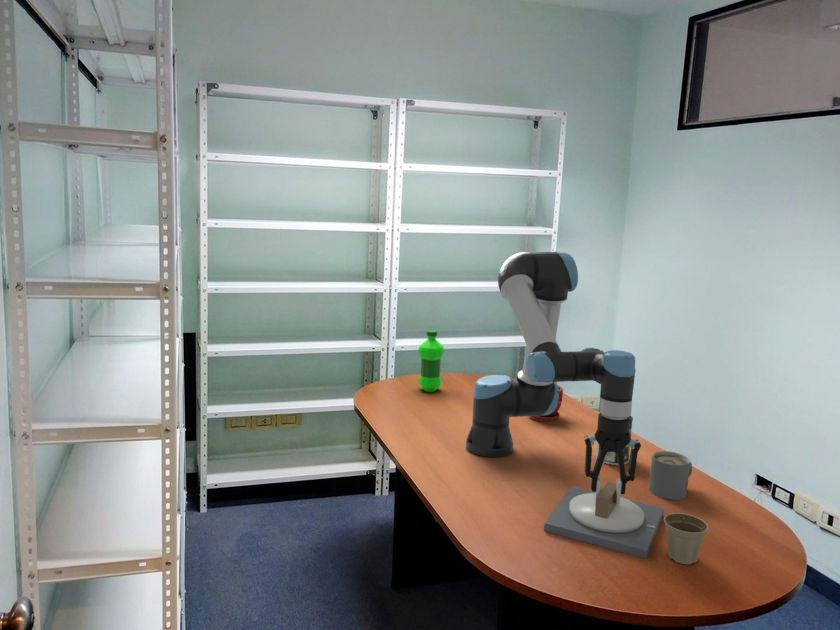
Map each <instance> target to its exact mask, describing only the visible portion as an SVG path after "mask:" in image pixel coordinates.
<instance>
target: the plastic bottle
mask: <svg viewBox="0 0 840 630" xmlns="http://www.w3.org/2000/svg"><path fill="white" fill-rule="evenodd" d="M426 336H427V339H426V340H424V342H422V343H421V344H420V345H419V347H418V352H417V353H418V356H419V357H420V358H421V361H420V362H421V363H420V375H419V378H418V379H417V381H418V386H420V388H422V389H423V391H424V392H428V393H429V392H430V393H433V392H436V391H437V390H438V389H439V388H440V387H441V386H442V384H443V379H442V378H443V377H442V376H441V361H442V360H441V359H442V357H444V355H445V348H444V345H442V344H441V343H440V342H439V341H438V340H437V336H438V331H437V330H434V329H427V330H426Z"/></svg>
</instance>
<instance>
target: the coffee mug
mask: <svg viewBox="0 0 840 630" xmlns="http://www.w3.org/2000/svg"><path fill="white" fill-rule="evenodd" d="M650 463H651V464H650V473H649V483H648V484H649V485H648V491H649V492H650V493H652V494H653V495H655V496H656V497H659V498H662V499H666V500H683V499H685V498H686V497H687V495H688V485H689V478H690V477H691V475H692V471H693V463H692V461H691V459H690V458H689V457H687V455H684V454H683V453H682V454H681V453H680V452H679V453H678V452H675V451H667V450H659V451H655V452H653V453H652V454H651V462H650Z"/></svg>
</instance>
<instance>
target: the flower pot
mask: <svg viewBox="0 0 840 630" xmlns="http://www.w3.org/2000/svg"><path fill="white" fill-rule="evenodd" d="M663 522H664V525H665V528H666V542H667V556H668V558H669V559H672V560H673V561H674V562H675V563H678V564H683V565H687V566H688V565H691V564H696V563H697V562H698V559H699V554H700V551H701V547H702V542H703V539H704V537H706V536H705V535H706V533H707V532H708V531H709V525H708V523H707V522H706V521H704V520H703V519H702V518H699V517H698V516H695V515H692V514H688V513H684V512H683V513H681V512H671V513H668V514H666V515H664V516H663Z"/></svg>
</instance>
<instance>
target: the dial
mask: <svg viewBox="0 0 840 630" xmlns="http://www.w3.org/2000/svg"><path fill="white" fill-rule="evenodd" d="M616 484H617V483H614V482H610V481H607V482H606V483H605V484H604V486H603V487H602V488H601V489H600V492H599V494H598V495H597V496H596V506H595V502H594V498H595V493H587V494H581V495H578V496H576V497H574V498H573V499H572V500H571V501H570V506H569V512H570V514H571V516H572V517H573V518H574V519H575V520H576V521H577V522H579V523H581V524H582V525H584V526H587V527H589V528H592V529H595V530H599V531H604V532H610V533H626V532H632V531H635V530H637V529H639V528H640V527H642V525H643V523H644V512H643V510H642V509H641V508H640V507H639V506H638V505H636V504H635V503H633V502H631V501H632V500H631V501H629V500H630V499H627V498H624V497H622V496H620V507H619V508H616V505H615V496H616Z"/></svg>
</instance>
